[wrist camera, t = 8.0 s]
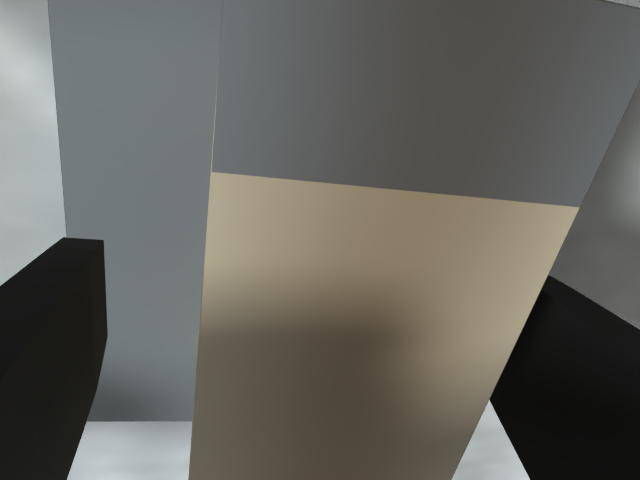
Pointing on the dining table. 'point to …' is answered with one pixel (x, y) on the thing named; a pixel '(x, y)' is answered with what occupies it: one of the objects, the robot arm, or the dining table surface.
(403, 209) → the capped box
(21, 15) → the dining table surface
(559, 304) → the robot arm
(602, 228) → the dining table surface
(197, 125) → the slate board
